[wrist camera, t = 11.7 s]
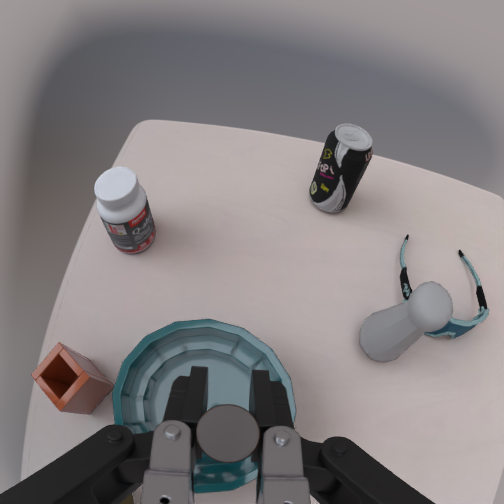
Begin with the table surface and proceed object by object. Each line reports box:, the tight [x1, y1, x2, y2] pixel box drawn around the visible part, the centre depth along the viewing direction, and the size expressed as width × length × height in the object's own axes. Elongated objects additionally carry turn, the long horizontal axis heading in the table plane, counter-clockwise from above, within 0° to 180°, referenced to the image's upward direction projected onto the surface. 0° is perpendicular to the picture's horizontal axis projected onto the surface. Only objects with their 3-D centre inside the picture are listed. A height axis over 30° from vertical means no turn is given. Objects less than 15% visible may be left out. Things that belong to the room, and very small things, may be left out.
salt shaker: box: [360, 281, 453, 362], centre depth 29 cm, size 6×6×13 cm
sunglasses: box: [400, 234, 489, 339], centre depth 37 cm, size 14×15×5 cm
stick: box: [196, 404, 260, 463], centre depth 17 cm, size 2×2×20 cm
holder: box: [32, 342, 114, 415], centre depth 26 cm, size 5×5×7 cm
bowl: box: [112, 319, 296, 493], centre depth 27 cm, size 16×16×6 cm
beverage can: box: [309, 124, 373, 213], centre depth 39 cm, size 6×6×12 cm
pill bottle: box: [94, 167, 155, 254], centre depth 34 cm, size 6×6×10 cm
